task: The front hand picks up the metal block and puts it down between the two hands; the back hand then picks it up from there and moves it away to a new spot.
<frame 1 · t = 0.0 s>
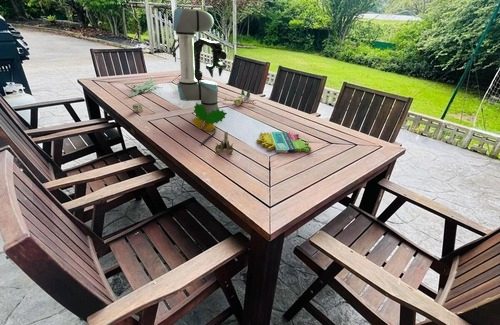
front hand: (184, 61, 211), 28 cm above the table, tool pointing down, fingers open, 13 cm apart
back hand: (216, 76, 232), 15 cm above the table, tool pointing down, fingers open, 9 cm apart
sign: (281, 143, 152), on the table
airplane: (144, 91, 229), on the table
toy: (241, 101, 221), on the table
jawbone: (224, 151, 138), on the table
ornament: (209, 128, 165), on the table
block: (138, 111, 184), on the table
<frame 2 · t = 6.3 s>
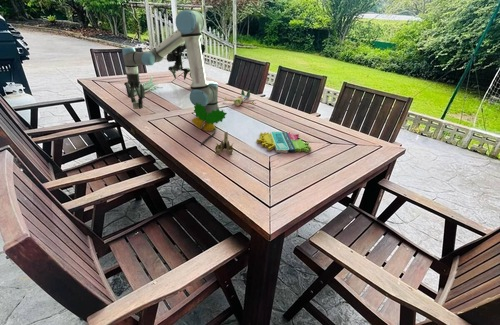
front hand: (138, 107, 183), 3 cm above the table, tool pointing down, fingers closed on block, 4 cm apart
back hand: (179, 79, 238), 9 cm above the table, tool pointing down, fingers open, 9 cm apart
block: (138, 108, 183), point 2 cm above the table, touching front hand
everything else where it was.
when the front hand's fingers open (1 cm above the table, at t = 16.1 s): block stays where it is, on the table.
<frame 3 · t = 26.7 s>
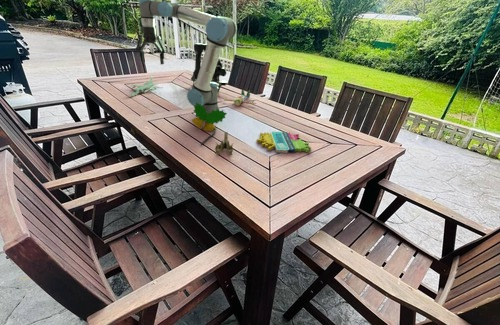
front hand: (152, 63, 169), 33 cm above the table, tool pointing down, fingers open, 13 cm apart
back hand: (216, 91, 239), 1 cm above the table, tool pointing down, fingers closed on block, 4 cm apart
block: (216, 93, 239), on the table, touching back hand
everything else where it was.
when the back hand's fingers open (2 cm above the table, at t = 30.4 s): block stays where it is, on the table.
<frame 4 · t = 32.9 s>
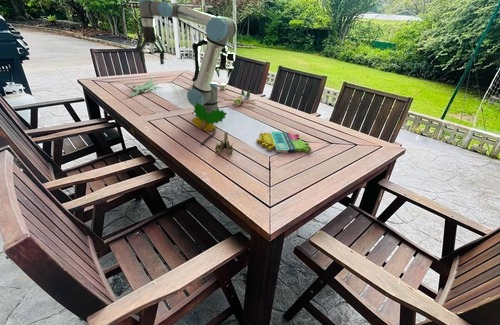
front hand: (152, 63, 169), 33 cm above the table, tool pointing down, fingers open, 13 cm apart
back hand: (223, 77, 248), 11 cm above the table, tool pointing down, fingers open, 9 cm apart
block: (223, 89, 254), on the table
everything else where it was.
at the end: block inside the target area (0.0 cm from its centre), on the table; block tilted 0°; the two hands never held the block at the same time; the front hand is holding nothing; the back hand is holding nothing; block at rest at the end (0.0 cm/s) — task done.
